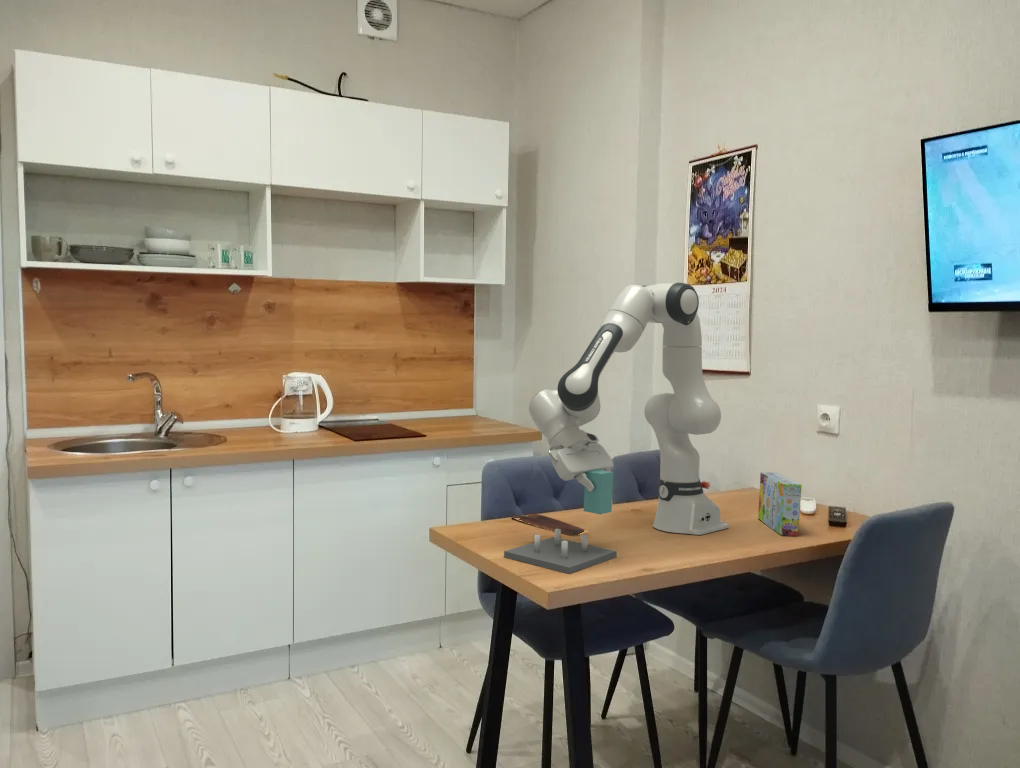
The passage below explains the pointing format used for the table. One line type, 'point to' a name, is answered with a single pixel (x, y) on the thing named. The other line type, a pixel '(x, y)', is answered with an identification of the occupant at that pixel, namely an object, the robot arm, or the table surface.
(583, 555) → the peg board
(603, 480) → the teal post
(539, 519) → the wooden tablet
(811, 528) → the table surface
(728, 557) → the table surface
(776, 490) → the snack box
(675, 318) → the robot arm
